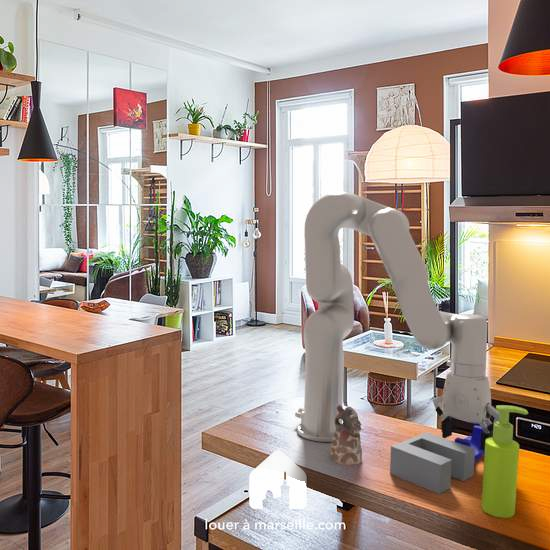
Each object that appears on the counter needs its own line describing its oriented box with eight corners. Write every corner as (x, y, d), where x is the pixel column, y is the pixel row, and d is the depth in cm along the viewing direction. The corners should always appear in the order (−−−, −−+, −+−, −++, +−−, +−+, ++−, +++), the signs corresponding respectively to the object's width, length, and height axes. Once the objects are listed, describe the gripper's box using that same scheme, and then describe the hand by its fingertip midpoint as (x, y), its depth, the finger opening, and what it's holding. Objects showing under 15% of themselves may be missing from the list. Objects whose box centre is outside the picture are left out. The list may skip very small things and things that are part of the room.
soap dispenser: (522, 521, 106) (530, 414, 104) (482, 515, 108) (489, 409, 105) (518, 505, 111) (525, 404, 109) (480, 500, 113) (486, 400, 111)
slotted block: (389, 473, 124) (391, 446, 124) (424, 457, 133) (426, 432, 132) (439, 494, 115) (440, 465, 115) (473, 475, 124) (474, 448, 123)
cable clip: (468, 447, 139) (469, 423, 139) (486, 453, 137) (488, 428, 136) (446, 463, 130) (448, 437, 130) (466, 469, 127) (467, 442, 127)
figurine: (352, 468, 126) (354, 414, 125) (324, 459, 131) (326, 407, 129) (367, 457, 132) (369, 406, 131) (340, 449, 136) (342, 399, 135)
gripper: (425, 364, 136) (424, 436, 137) (496, 380, 123) (493, 458, 125) (443, 359, 141) (441, 428, 142) (513, 373, 128) (510, 449, 130)
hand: (465, 442), depth 133 cm, fingers open, 9 cm apart
